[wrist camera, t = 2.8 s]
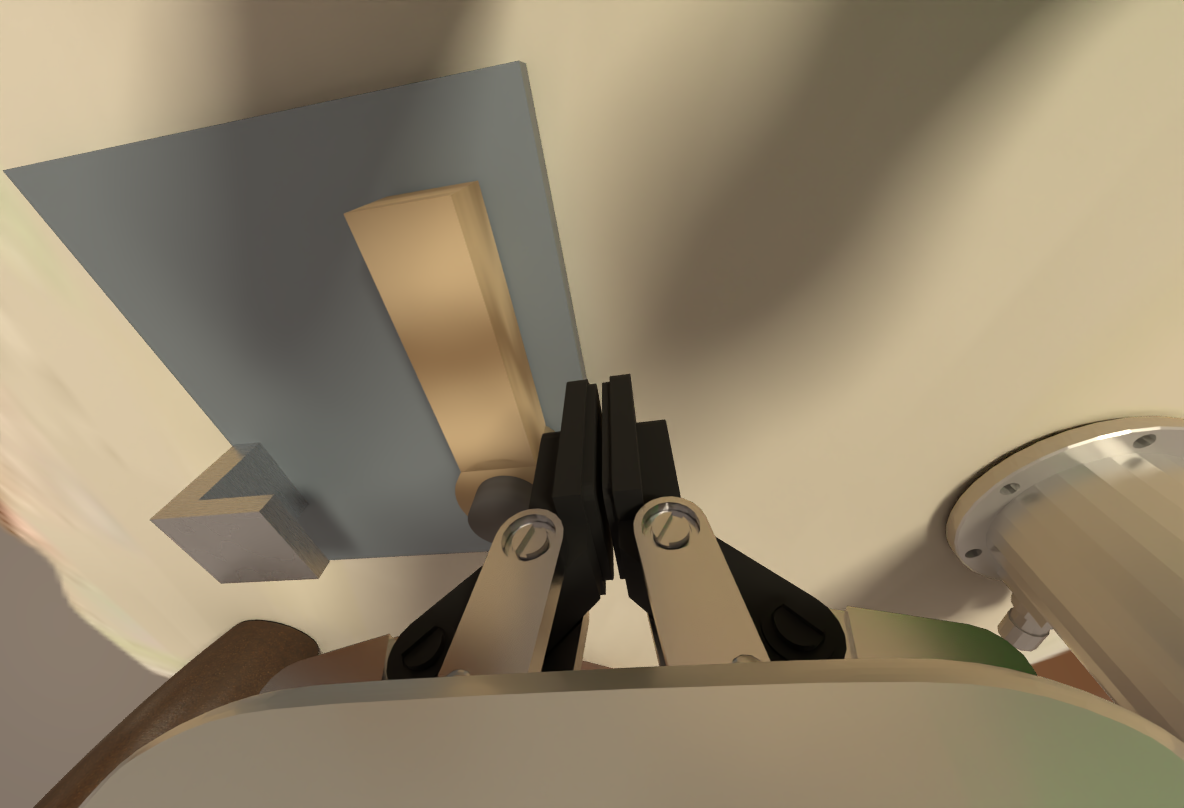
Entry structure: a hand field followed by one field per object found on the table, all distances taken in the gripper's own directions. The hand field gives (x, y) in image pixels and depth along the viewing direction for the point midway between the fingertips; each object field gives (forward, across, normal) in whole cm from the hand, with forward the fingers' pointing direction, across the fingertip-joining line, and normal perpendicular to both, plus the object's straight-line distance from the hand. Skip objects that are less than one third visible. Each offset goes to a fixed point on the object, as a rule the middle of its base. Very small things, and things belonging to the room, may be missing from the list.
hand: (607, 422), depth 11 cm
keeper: (+9, +18, +8) cm, 22 cm away
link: (+8, +6, +2) cm, 10 cm away
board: (+9, +12, +4) cm, 15 cm away
